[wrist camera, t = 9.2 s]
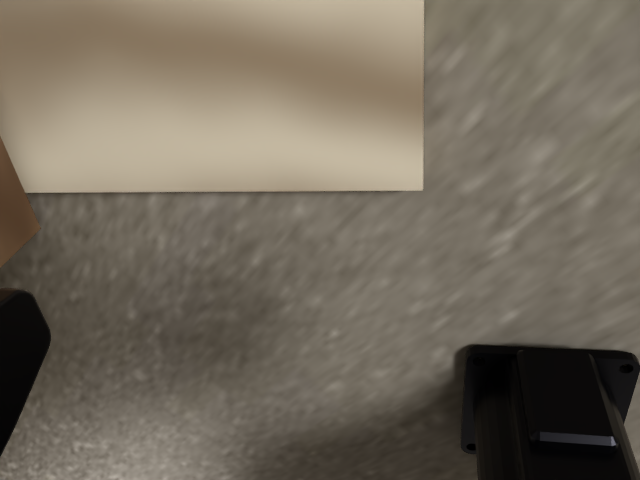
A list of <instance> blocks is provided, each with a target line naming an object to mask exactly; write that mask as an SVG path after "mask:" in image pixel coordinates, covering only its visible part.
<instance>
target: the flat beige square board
mask: <svg viewBox="0 0 640 480" xmlns="http://www.w3.org/2000/svg"><path fill="white" fill-rule="evenodd" d="M0 136H1V139H2V141H3V143H4V145H5V148H6V150H7V152H8V155H9V157H10V159H11V162H12V164H13V166H14V168H15V171H16V173H17V175H18V178H19V180H20V182H21V184H22V187H23V189H24V191H25V193H75V192H253V191H423V161H424V0H0Z"/></svg>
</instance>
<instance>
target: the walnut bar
mask: <svg viewBox="0 0 640 480" xmlns="http://www.w3.org/2000/svg"><path fill="white" fill-rule="evenodd" d="M40 229H41V228H40V226H39V223H38V221H37V219H36V216H35V214H34V212H33V210H32V207H31V205H30V203H29V200H28V198H27V196H26V194H25V191H24V189H23V187H22V184H21V182H20V180H19V178H18V175H17V173H16V171H15V168H14V166H13V164H12V162H11V159H10V157H9V155H8V152H7V150H6V148H5V145H4V143H3V141H2V139H1V136H0V268H1V267H2V266H3V265H4V264H5V263H6V262H7V261H8V260H9V259H10V258H11V257H12V256H13V255H14V254H15V253H16V252H17V251H18V250H19V249H20V248H21V247H22V246H23V245H24V244H25V243H26V242H27V241H28V240H29V239H30V238H31V237H33V236H34V235H35V234H36V233H37V232H38V231H39V230H40Z"/></svg>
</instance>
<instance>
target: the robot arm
mask: <svg viewBox="0 0 640 480" xmlns="http://www.w3.org/2000/svg"><path fill="white" fill-rule="evenodd" d="M50 341H51V333H50V329H49V327H48V325H47V323H46V320H45V318H44V316H43V314H42V312H41V310H40V308H39V306H38V304H37V302H36V300H35V298H34V296H33V294H32V293H30V292H29V291H28V290H25V289H12V288H3V289H0V456H1V455H2V453H3V451H4V449H5V447H6V445H7V443H8V441H9V439H10V437H11V435H12V433H13V430H14V428H15V426H16V424H17V421H18V419H19V417H20V414H21V412H22V410H23V407H24V405H25V403H26V400H27V398H28V396H29V393H30V391H31V389H32V386H33V384H34V381H35V379H36V377H37V374H38V372H39V370H40V367H41V365H42V363H43V360H44V358H45V356H46V353H47V351H48V349H49V346H50ZM476 357H481V359H476ZM624 364H628V365H626V366H622V365H624ZM639 372H640V364H639V361H638V359H637V357H636V356H635V355H634V354H632V353H628V352H613V351H590V350H567V349H544V348H521V347H498V346H473V347H471V348H469V349H468V350H467V352H466V360H465V376H464V392H463V408H462V424H461V449H462V450H463V451H464V452H466V453H470V454H476V457H477V472H478V480H640V472H639V469H638V466H637V463H636V460H635V457H634V454H633V451H632V448H631V445H630V442H629V439H628V436H627V433H626V430H625V427H624V422H625V418H626V415H627V412H628V409H629V405H630V402H631V399H632V395H633V392H634V389H635V385H636V382H637V379H638V375H639Z"/></svg>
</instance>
